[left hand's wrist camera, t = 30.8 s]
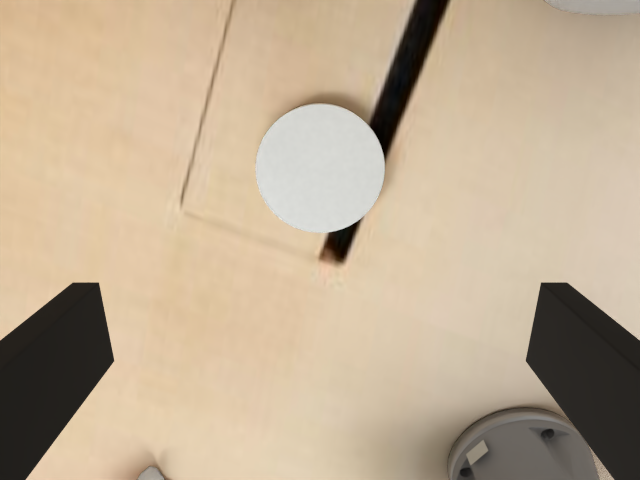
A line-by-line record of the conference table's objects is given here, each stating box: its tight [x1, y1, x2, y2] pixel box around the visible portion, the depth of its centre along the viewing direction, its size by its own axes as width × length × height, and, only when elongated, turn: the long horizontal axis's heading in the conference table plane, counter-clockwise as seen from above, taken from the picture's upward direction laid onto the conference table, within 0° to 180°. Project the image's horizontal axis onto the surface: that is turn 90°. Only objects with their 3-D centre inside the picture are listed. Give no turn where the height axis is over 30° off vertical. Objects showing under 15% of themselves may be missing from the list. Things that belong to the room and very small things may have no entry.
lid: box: [256, 103, 385, 233], centre depth 36 cm, size 11×11×2 cm
